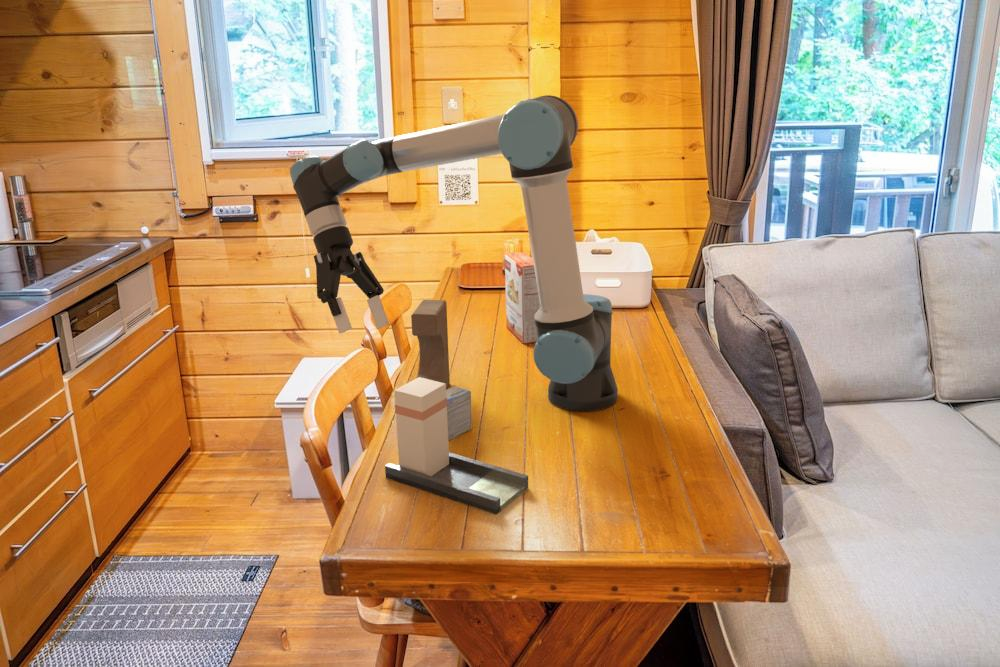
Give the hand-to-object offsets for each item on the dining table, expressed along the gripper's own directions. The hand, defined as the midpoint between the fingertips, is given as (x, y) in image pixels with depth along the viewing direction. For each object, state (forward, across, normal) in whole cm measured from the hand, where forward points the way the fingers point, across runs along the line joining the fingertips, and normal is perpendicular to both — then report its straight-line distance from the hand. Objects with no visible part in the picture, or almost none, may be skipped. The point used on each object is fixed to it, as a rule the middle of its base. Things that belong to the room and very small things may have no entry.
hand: (365, 328), depth 172 cm
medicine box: (+26, -5, +7) cm, 27 cm away
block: (+30, +11, +9) cm, 33 cm away
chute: (+34, +12, +15) cm, 39 cm away
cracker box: (+8, -63, +6) cm, 64 cm away
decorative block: (+16, -21, -3) cm, 27 cm away
